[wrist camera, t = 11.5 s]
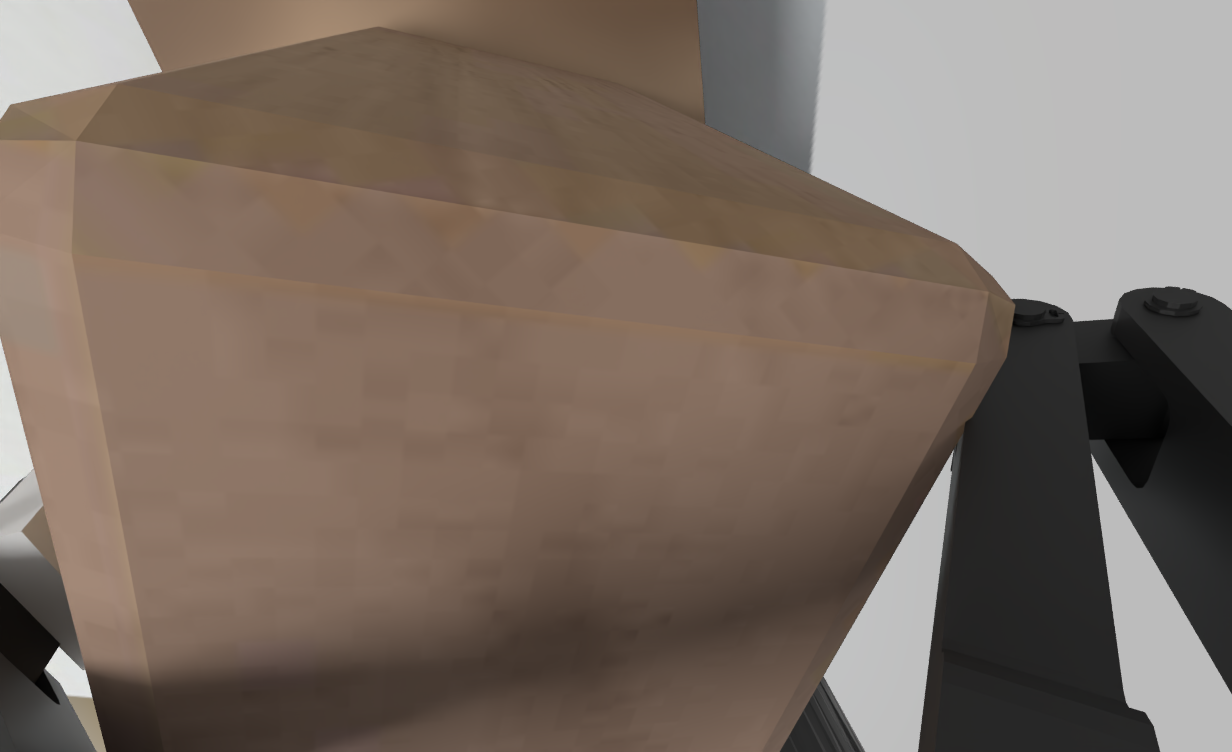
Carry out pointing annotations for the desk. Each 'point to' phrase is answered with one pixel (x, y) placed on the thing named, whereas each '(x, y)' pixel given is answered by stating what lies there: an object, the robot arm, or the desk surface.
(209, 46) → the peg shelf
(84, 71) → the desk surface
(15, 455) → the desk surface
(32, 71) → the desk surface
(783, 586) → the wooden block
